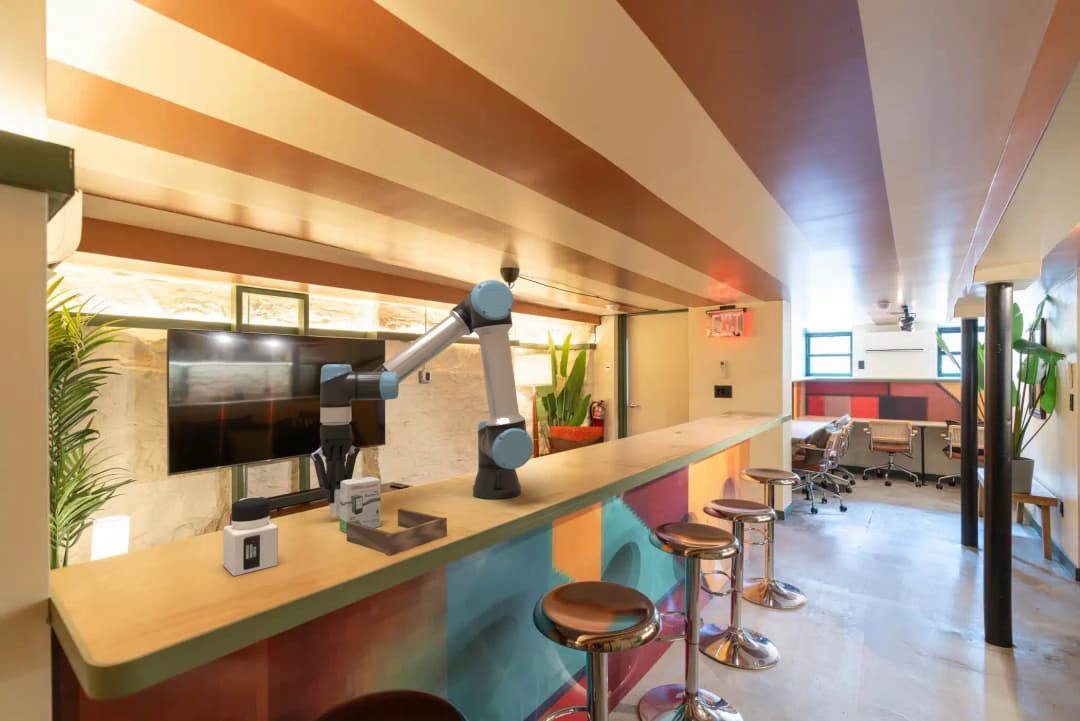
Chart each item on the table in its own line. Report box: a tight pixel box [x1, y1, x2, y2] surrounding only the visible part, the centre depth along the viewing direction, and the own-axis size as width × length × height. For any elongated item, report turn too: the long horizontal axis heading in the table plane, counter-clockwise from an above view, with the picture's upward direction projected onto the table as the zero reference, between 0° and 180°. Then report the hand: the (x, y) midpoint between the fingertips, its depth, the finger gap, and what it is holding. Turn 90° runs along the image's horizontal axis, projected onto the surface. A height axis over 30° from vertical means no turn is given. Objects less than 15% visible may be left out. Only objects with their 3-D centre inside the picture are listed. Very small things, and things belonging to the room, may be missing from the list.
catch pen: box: [346, 508, 448, 557], centre depth 112 cm, size 16×16×4 cm
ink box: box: [339, 476, 382, 534], centre depth 121 cm, size 9×5×12 cm, turn 131°
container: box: [222, 496, 279, 577], centre depth 97 cm, size 8×8×13 cm
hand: (335, 514), depth 127 cm, fingers closed
